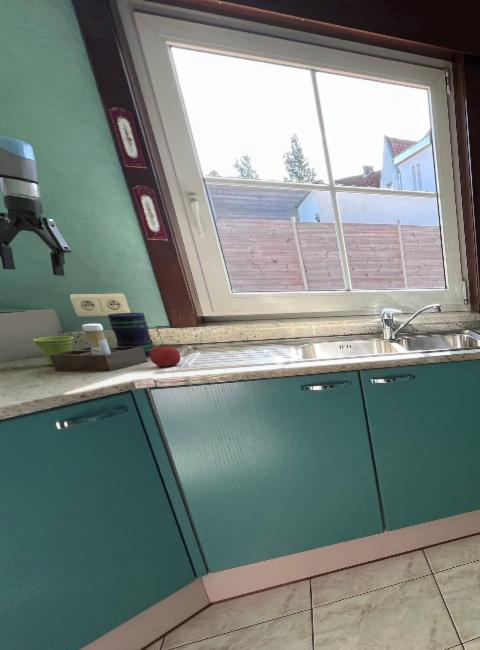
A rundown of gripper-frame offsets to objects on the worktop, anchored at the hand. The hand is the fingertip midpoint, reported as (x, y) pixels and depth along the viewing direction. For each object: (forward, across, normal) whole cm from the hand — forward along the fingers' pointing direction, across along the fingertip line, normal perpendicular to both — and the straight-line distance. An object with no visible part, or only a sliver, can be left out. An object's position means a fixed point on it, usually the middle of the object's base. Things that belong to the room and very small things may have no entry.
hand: (34, 272), depth 150 cm
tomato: (+26, -31, -7) cm, 41 cm away
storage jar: (+26, -9, -23) cm, 37 cm away
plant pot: (+30, +3, -8) cm, 31 cm away
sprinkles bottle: (+27, -15, -3) cm, 31 cm away
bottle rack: (+28, -11, -6) cm, 31 cm away
